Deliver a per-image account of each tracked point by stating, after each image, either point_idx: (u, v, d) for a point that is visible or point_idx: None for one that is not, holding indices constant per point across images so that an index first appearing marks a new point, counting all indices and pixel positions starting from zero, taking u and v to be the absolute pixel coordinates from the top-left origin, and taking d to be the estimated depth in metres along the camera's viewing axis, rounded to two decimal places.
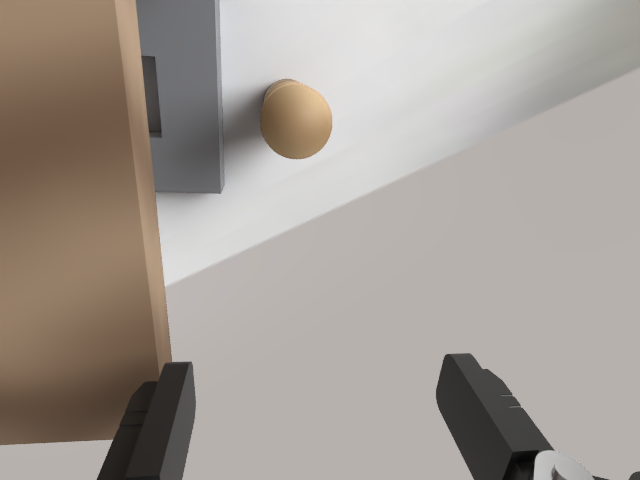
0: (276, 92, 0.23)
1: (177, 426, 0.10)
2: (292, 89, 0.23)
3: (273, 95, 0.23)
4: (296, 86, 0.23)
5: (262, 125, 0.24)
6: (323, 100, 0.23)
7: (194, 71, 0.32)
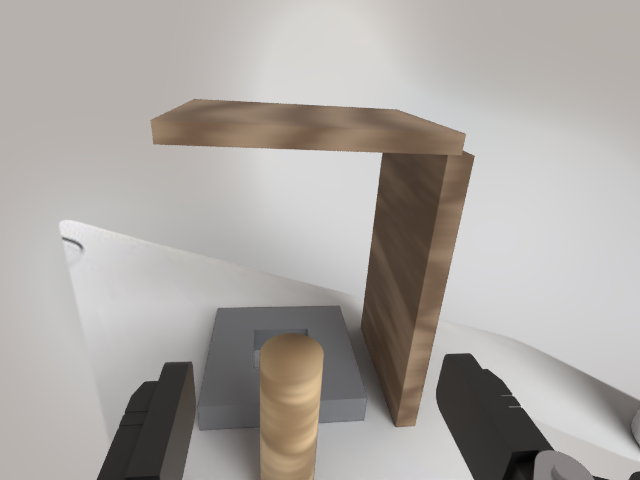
0: (314, 340, 0.28)
1: (177, 426, 0.10)
2: (318, 348, 0.27)
3: (311, 338, 0.28)
4: (321, 350, 0.27)
5: (287, 334, 0.29)
6: (314, 367, 0.26)
7: None
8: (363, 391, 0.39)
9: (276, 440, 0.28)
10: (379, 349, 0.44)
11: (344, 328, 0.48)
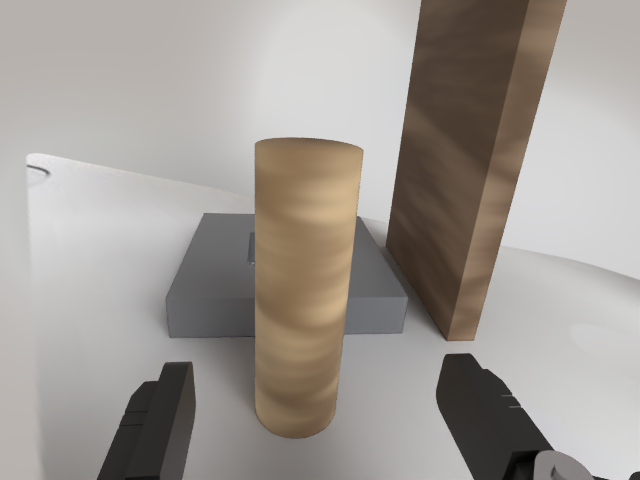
0: (344, 143, 0.17)
1: (177, 426, 0.10)
2: (353, 147, 0.16)
3: (340, 142, 0.17)
4: (359, 148, 0.16)
5: (299, 138, 0.18)
6: (350, 155, 0.15)
7: None
8: (402, 290, 0.27)
9: (282, 301, 0.16)
10: (417, 252, 0.33)
11: (368, 234, 0.37)
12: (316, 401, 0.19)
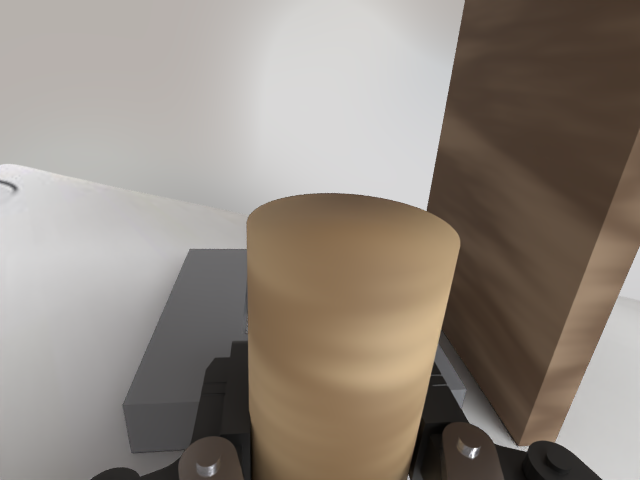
0: (408, 205, 0.10)
1: None
2: (432, 219, 0.09)
3: (399, 203, 0.10)
4: (443, 222, 0.09)
5: (327, 194, 0.10)
6: (445, 256, 0.07)
7: None
8: (455, 376, 0.20)
9: None
10: (463, 307, 0.26)
11: None
12: None
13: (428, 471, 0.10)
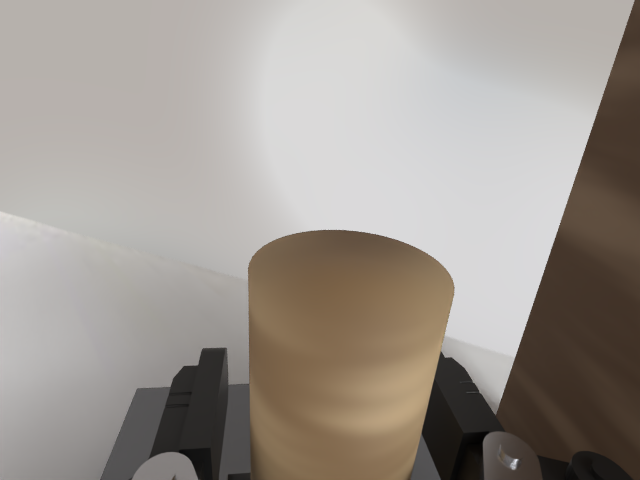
0: (405, 244, 0.10)
1: (219, 406, 0.10)
2: (427, 261, 0.09)
3: (396, 242, 0.10)
4: (438, 265, 0.09)
5: (326, 231, 0.10)
6: (439, 307, 0.07)
7: None
8: None
9: None
10: None
11: None
12: None
13: None
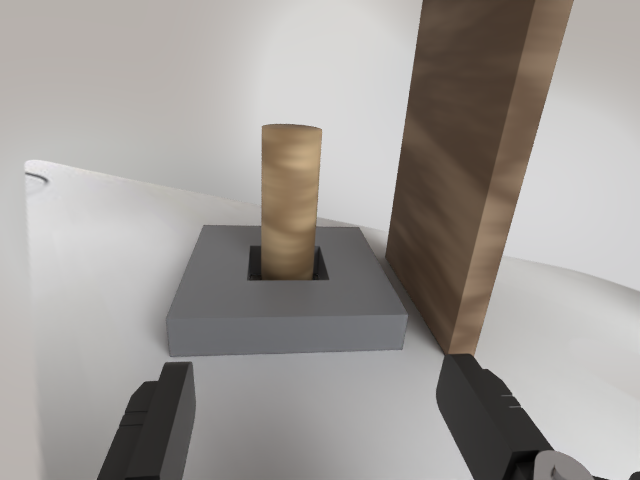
0: None
1: (177, 426, 0.10)
2: (317, 128, 0.29)
3: (310, 126, 0.30)
4: (320, 129, 0.29)
5: (287, 124, 0.30)
6: (313, 132, 0.27)
7: (323, 301, 0.28)
8: (402, 307, 0.28)
9: (277, 216, 0.29)
10: (417, 265, 0.33)
11: (367, 247, 0.37)
12: None
13: None
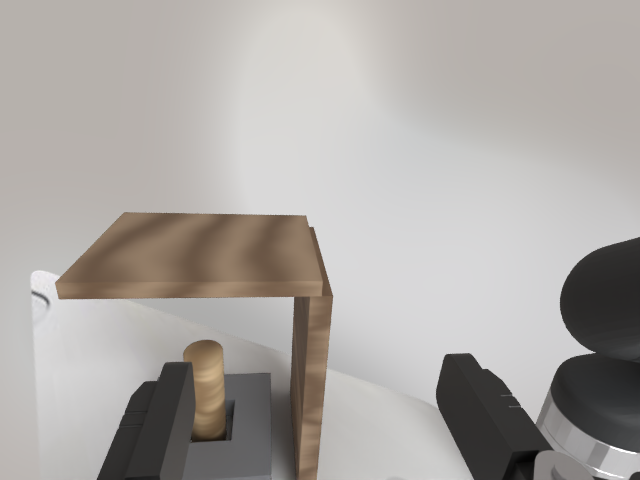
0: (219, 344, 0.47)
1: (177, 426, 0.10)
2: (220, 349, 0.46)
3: (218, 343, 0.47)
4: (221, 350, 0.46)
5: (203, 340, 0.47)
6: (214, 360, 0.44)
7: (220, 463, 0.44)
8: (269, 467, 0.44)
9: None
10: (294, 422, 0.50)
11: (268, 398, 0.54)
12: (212, 438, 0.48)
13: None
